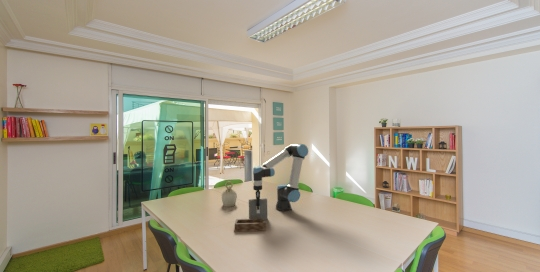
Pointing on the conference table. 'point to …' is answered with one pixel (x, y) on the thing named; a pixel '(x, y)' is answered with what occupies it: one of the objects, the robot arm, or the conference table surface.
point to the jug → (229, 196)
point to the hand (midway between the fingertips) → (258, 212)
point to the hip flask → (253, 210)
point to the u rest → (249, 225)
